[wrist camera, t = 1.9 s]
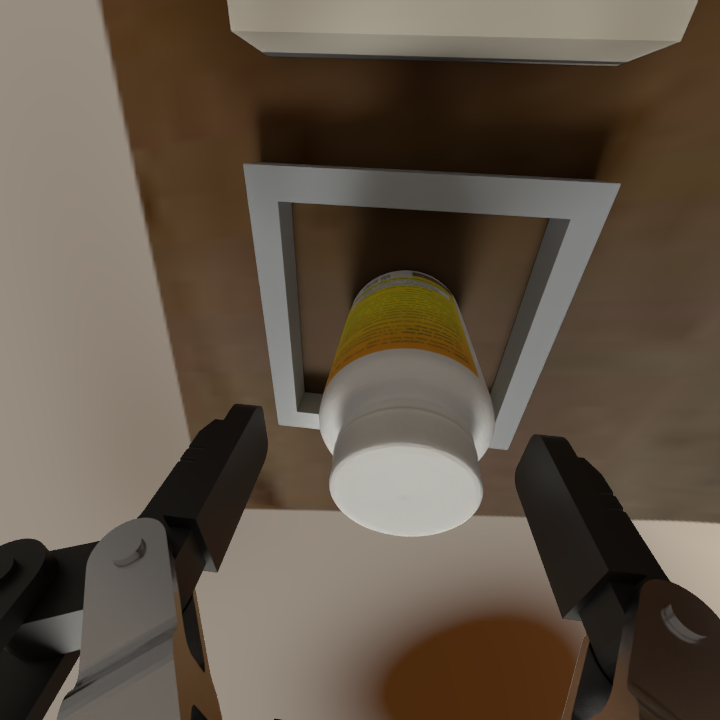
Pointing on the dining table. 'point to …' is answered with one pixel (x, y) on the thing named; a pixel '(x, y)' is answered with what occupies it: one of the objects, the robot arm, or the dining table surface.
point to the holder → (463, 29)
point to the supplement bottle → (406, 410)
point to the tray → (433, 193)
